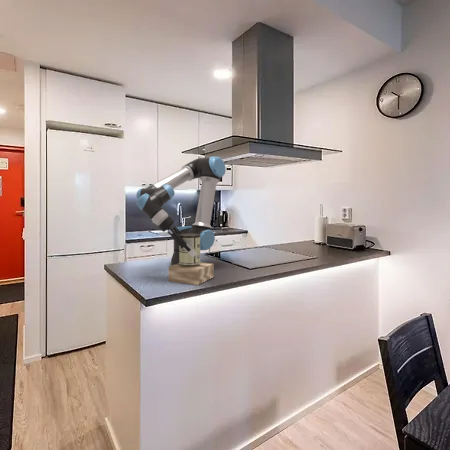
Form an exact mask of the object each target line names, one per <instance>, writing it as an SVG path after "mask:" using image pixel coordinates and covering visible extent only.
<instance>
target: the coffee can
mask: <svg viewBox="0 0 450 450" xmlns="http://www.w3.org/2000/svg"><path fill="white" fill-rule="evenodd" d="M179 235H180V236H181V237H182V239H183V240H184V241H185V242H186V245H187V244H188V245H189V246H190V247H191V248H192V249H193V250H194V251H195V252H196V253H197V254H196V255H195V256H194V257H192V256H191V255H190V254H189V253H188V252H187V251H186V250H185V249H184V247H183V248H182V249H181V247H180V245H179V264H182V265H197V264H200V262H201V250H200V234H195V233H186V234H179Z"/></svg>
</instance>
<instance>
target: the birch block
mask: <svg viewBox="0 0 450 450" xmlns="http://www.w3.org/2000/svg"><path fill="white" fill-rule="evenodd" d="M214 269H215V264H214V263H210V262H202V261H200V264H197V265H182V264H179V263H178V264H175V265H169V266H168V282H173V283H179V284H187V285H193V286H199V284H200V285H201V283H202V284H203V282H204V283H206V282H207V280H208V281H209V279H210V280H211V278H212V279H213V277H215V276H214V275H215V274H214V272H215V271H214ZM205 281H206V282H205Z"/></svg>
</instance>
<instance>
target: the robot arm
mask: <svg viewBox="0 0 450 450" xmlns="http://www.w3.org/2000/svg"><path fill="white" fill-rule="evenodd" d="M225 174H226V165H225V162H224V160H223V159H222V158H221V157H220V156H209V157H208V156H207V157H199V158H195V159H193V160H192V161H190V162H188V163H186V164H184V165H183V166H181V168H180V169H179V170H177V171H175V172H173V173H171V174H169V175H167V176H165V177H164V178H163V179H160V180H158V181H157V182H155V183H153V184H151V185H150V186H149V185H148V186H147V187H142V188H139V189H138V190H137V191H136V195H135V196H136V198H137V200H136V202H135V204H136V207H138V208H139V210H141V211H142V212H143V213H144V214H145V216H147V217H148V218H149V219H150V220H151V221H152V224H155V225H156V226H158V227H157V228H159V230H160V231H162V232H164V233H165V232H166V231H167V234H168V235H170V236H171V238H172V239H173V252H172V255H171V260H170V266H172V265H175V264H178V263H179V245H180V247H181V249H182V248H183V247H184V249H185V250H186V251H187V252H188V253H189V254H190V255H191V256H192V257H194V256H195V255H196V254H197V253H196V252H195V251H194V250H193V249H192V248H191V247H190V246H189V245H188V244H187V245H186V242H185V241H184V240H183V239H182V237H181V236H180V235H179V234H186V233H195V234H200V251H208V250H209V249H210V248H212V246H213V245H215V244H214V243H215V240H216V239H215V238H216V236H215V232H213V231H214V230H213V227H212V226H211V220H212V215H213V209H214V208H213V207H214V201H215V196H216V189H217V184H218V183H220V181H221V178H222V177H224V175H225ZM196 179H199V180H200V181H201V185H200V190H199V197H198V203H197V208H196V214H195V222H194V223H192V224H191V225H187V226H185V225H184V226H174V225H173V224H174V223H175V220H174V219H173V218H172V216H169V213H168V212H167V211H165V210H164V209H163V206H164V205H165V204H167V202H169V201H170V200H171V199H172V198H173V197H174V196H175V193H176V191H175V190H174V189H176V188H177V187H179V186H180V185H182V184H184V183H186V182H188V181H189V182H190V181H193V180H196ZM141 211H140V212H141Z"/></svg>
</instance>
